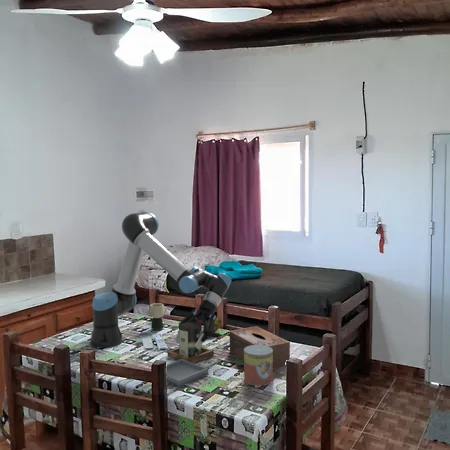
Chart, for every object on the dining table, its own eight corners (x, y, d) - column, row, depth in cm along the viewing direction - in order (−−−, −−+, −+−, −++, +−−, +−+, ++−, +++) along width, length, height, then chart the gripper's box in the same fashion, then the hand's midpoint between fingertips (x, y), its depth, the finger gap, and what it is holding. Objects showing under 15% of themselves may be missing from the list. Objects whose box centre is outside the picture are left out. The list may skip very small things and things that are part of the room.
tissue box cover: (229, 352, 214) (229, 330, 213) (256, 346, 221) (256, 326, 220) (261, 372, 192) (260, 348, 191) (289, 365, 199) (289, 342, 198)
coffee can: (204, 353, 213) (204, 322, 212) (199, 361, 203) (198, 329, 202) (182, 351, 215) (182, 321, 214) (176, 359, 205) (175, 328, 204)
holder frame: (167, 356, 209) (167, 351, 209) (191, 348, 219) (191, 343, 219) (190, 365, 199) (190, 359, 199) (213, 355, 210) (213, 350, 210)
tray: (152, 376, 188) (152, 370, 188) (181, 364, 200) (181, 358, 199) (179, 387, 178) (179, 380, 177) (208, 374, 189) (208, 368, 189)
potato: (196, 335, 238) (196, 319, 238) (216, 330, 246) (216, 315, 246) (206, 339, 232) (206, 323, 231) (226, 333, 240) (226, 318, 239)
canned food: (252, 388, 176) (251, 356, 175) (239, 376, 187) (238, 347, 186) (278, 382, 181) (278, 352, 180) (264, 372, 191) (264, 343, 190)
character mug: (163, 325, 255) (162, 301, 254) (169, 328, 249) (169, 304, 248) (144, 329, 249) (144, 305, 248) (151, 332, 243) (150, 307, 242)
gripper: (234, 312, 211) (210, 355, 201) (195, 303, 227) (172, 342, 217) (225, 303, 206) (201, 346, 197) (187, 295, 223) (163, 334, 213)
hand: (186, 344), depth 207 cm, fingers open, 12 cm apart
